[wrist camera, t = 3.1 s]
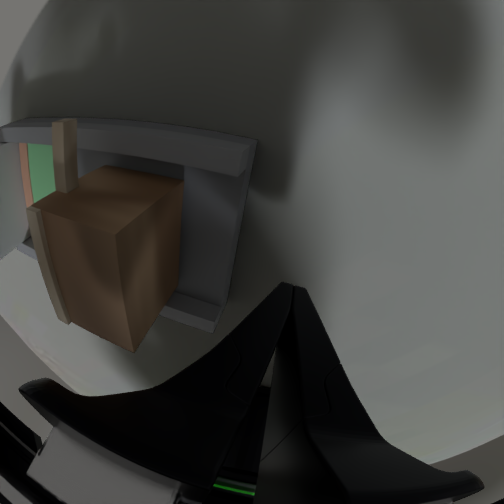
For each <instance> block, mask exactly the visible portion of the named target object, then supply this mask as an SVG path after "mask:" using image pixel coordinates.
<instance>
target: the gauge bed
mask: <svg viewBox="0 0 504 504" xmlns="http://www.w3.org/2000/svg"><path fill="white" fill-rule="evenodd" d="M65 118H70V119H77V165H78V178H80V177H82V176H84V175H86V174H88V173H90V172H92V171H94V170H96V169H98V168H100V167H102V166H104V165H109V166H115V167H121V168H126V169H131V170H136V171H142V172H147V173H152V174H157V175H161V176H166V177H171V178H176V179H180V180H184V190H183V203H182V216H181V232H180V252H179V280H178V286H177V288H176V289H175V291H174V292H173V294H172V295H171V297H170V298H169V300H168V301H167V303H166V304H165V306H164V307H163V309H162V310H161V312H160V313H159V315H160V316H163V317H166V318H169V319H171V320H174V321H177V322H180V323H182V324H185V325H188V326H191V327H194V328H197V329H200V330H203V331H206V332H209V333H212V334H213V333H214V330H215V328H216V326H217V324H218V321H219V319H220V317H221V314H222V312H223V310H224V307H225V305H226V303H227V298H228V293H229V287H230V282H231V276H232V271H233V265H234V260H235V254H236V249H237V243H238V238H239V233H240V228H241V222H242V217H243V212H244V207H245V201H246V196H247V191H248V186H249V181H250V176H251V171H252V166H253V161H254V156H255V151H256V146H257V141H258V140H255V139H251V138H246V137H241V136H236V135H231V134H226V133H221V132H215V131H210V130H204V129H198V128H191V127H184V126H177V125H170V124H162V123H153V122H144V121H133V120H120V119H105V118H77V117H50V118H25V119H22V120H19V121H16V122H13V123H10V124H7V125H4V126H1V127H0V260H1V259H2V258H3V257H5V256H6V255H7V254H8V253H9V252H11V251H12V250H13V249H14V248H16V247H17V250H19V251H21V252H22V253H24V254H26V255H28V256H30V257H32V258H33V259H35V260H37V261H38V259H37V256H36V252H35V248H34V244H33V241H32V237H31V232H30V228H29V223H28V219H27V214H26V208H27V207H29V206H31V205H32V204H34V203H36V202H37V201H39V200H40V199H42V198H44V197H45V196H47V195H49V194H51V193H52V192H54V191H56V189H55V179H54V167H53V151H52V122H55V121H58V120H62V119H65Z"/></svg>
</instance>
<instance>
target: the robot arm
mask: <svg viewBox="0 0 504 504" xmlns="http://www.w3.org/2000/svg"><path fill="white" fill-rule="evenodd" d="M275 348H276V351H275ZM274 351H275V360H274V368H273V376H272V383H271V389H267V388H263V387H259V386H260V384H261V382H262V379H263V377H264V375H265V372H266V370H267V367H268V365H269V363H270V360H271V358H272V356H273V353H274ZM19 392H20V393H21V394H22V395H23V397H24V398H25V399H26V400H27V401H28V402H29V403H30V404H31V405H32V406H33V407H34V408H35V409H36V410H37V411H38V412H39V413H40V414H41V415H42V416H43V417H44V418H45V419H46V420H47V421H48V422H49V423H50V424H51V425H53V428H52V430H51V432H50V433H49V435H48V437H47V439H46V440H45V442H44V444H43V445H42V441H41V437H40V436H38V435H37V434H36V433H35V432H33V431H32V430H31V429H30V428H28V427H27V426H26V425H25V424H24V423H23V422H22V421H20V420H19V419H18V418H17V417H16V416H15V415H14V414H13V413H12V412H11V411H9V410H8V409H7V408H6V407H5V406H4V405H3V404H2V403H1V402H0V503H1V504H453V502H455V501H457V500H460V499H462V498H465V497H468V496H470V495H472V494H475V493H477V492H479V491H481V490H482V489H484V484H483V482H482V481H481V479H480V478H479V477H478V476H477V475H475V474H473V473H472V472H470V471H468V470H464V471H459V472H445V471H441V470H438V469H436V468H434V467H432V466H430V465H428V464H426V463H424V462H422V461H420V460H418V459H416V458H414V457H412V456H411V455H409V454H407V453H405V452H403V451H401V450H400V449H398V448H396V447H394V446H393V445H391V444H389V443H388V442H387V441H386V440H385V439H384V438H383V437H382V436H381V435H380V433H379V432H378V430H377V429H376V427H375V426H374V424H373V422H372V420H371V419H370V417H369V415H368V414H367V412H366V410H365V408H364V407H363V405H362V403H361V402H360V400H359V398H358V396H357V395H356V393H355V391H354V389H353V387H352V386H351V384H350V381H349V379H348V377H347V375H346V373H345V371H344V369H343V367H342V364H340V360H339V358H338V356H337V354H336V351H335V349H334V347H333V345H332V343H331V340H330V338H329V336H328V334H327V332H326V330H325V327H324V325H323V323H322V321H321V319H320V317H319V315H318V313H317V310H316V308H315V306H314V304H313V302H312V300H311V298H310V296H309V294H308V292H307V290H306V288H303V287H300V286H296V285H295V286H294V287H293V285H292V284H289V283H285V282H281V283H280V284H279V285H278V286H277V287H276V288H275V289H274V290H273V291H272V292H271V293H270V294H269V295H268V296H267V297H266V298H265V299H264V300H263V301H262V302H261V303H260V304H259V305H258V306H257V307H256V308H255V309H254V310H253V311H252V312H251V313H250V314H249V315H248V316H247V317H246V318H245V319H244V320H243V321H242V322H241V323H240V324H239V325H238V326H237V327H236V328H235V329H234V330H233V331H231V332H230V333H229V335H227V336H226V337H225V338H224V339H223V340H222V341H221V342H220V343H219V344H217V345H216V346H215V347H214V348H213V349H212V350H211V351H209V352H208V353H207V354H205V355H204V356H203V357H201V358H200V359H198V360H197V361H196V362H194V363H193V364H191V365H190V366H188V367H187V368H185V369H184V370H182V371H181V372H179V373H178V374H176V375H175V376H173V377H172V378H170V379H168V380H167V381H165V382H164V383H162V384H160V385H158V386H155V387H153V388H150V389H146V390H140V391H134V392H127V393H120V394H113V395H104V396H82V395H79V394H75V393H73V392H71V391H69V390H68V389H66V388H64V387H63V386H61V385H60V384H58V383H57V382H55V381H54V380H52V379H49V378H41V379H37V380H32V381H30V382H27V383H25V384H24V385H22V386H21V387H20V388H19ZM214 484H217V485H221V486H225V487H229V488H233V489H238V490H242V491H247V492H252V493H255V494H254V495H250V494H244V493H240V492H235V491H231V490H227V489H222V488H219V487H215V486H213V485H214ZM492 504H504V498H503V499H501V500H499V501H496V502H494V503H492Z"/></svg>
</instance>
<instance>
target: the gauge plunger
mask: <svg viewBox="0 0 504 504" xmlns="http://www.w3.org/2000/svg"><path fill="white" fill-rule="evenodd" d="M52 151H53V167H54V179H55V189H56V191H54V192H52V193H51V194H49V195H47V196H45V197H44V198H42V199H40V200H39V201H37V202H36V203H34V204H32V205H31V206H29V207H27V208H26V214H27V219H28V223H29V228H30V232H31V237H32V241H33V244H34V248H35V252H36V256H37V259H38V263H39V266H40V269H41V272H42V276H43V279H44V282H45V285H46V288H47V291H48V293H49V296H50V299H51V302H52V304H53V307H54V309H55V312H56V314H57V317H58V319H59V320H61V321H62V322H64V323H66V324H68V325H69V324H70V323H71V322H73V323H75V324H76V325H78V326H80V327H82V328H84V329H86V330H88V331H89V332H91V333H93V334H95V335H97V336H99V337H101V338H103V339H105V340H107V341H109V342H111V343H113V344H115V345H118V346H120V347H122V348H124V349H126V350H128V351H131V352H133V353H135V351H136V349H137V348H138V346H139V345H140V343H141V342H142V340H143V338H144V337H145V335H146V334H147V332H148V330H149V329H150V327H151V326H152V324H153V323H154V321H155V320H156V318H157V317H158V315H159V313H160V312H161V310H162V309H163V307H164V306H165V304H166V303H167V301H168V300H169V298H170V297H171V295H172V294H173V292H174V291H175V289H176V288H177V286H178V280H179V252H180V232H181V216H182V203H183V190H184V180H180V179H176V178H171V177H166V176H161V175H157V174H152V173H147V172H142V171H136V170H131V169H126V168H121V167H115V166H109V165H104V166H102V167H100V168H98V169H96V170H94V171H92V172H90V173H88V174H86V175H84V176H82V177H80V178H78V165H77V119H70V118H65V119H62V120H58V121H55V122H52Z"/></svg>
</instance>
